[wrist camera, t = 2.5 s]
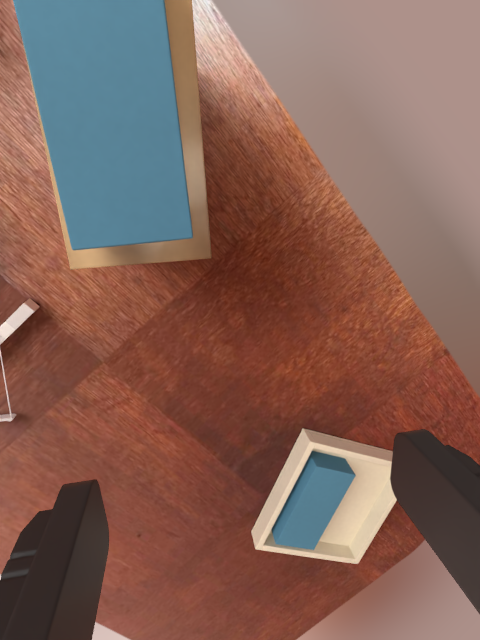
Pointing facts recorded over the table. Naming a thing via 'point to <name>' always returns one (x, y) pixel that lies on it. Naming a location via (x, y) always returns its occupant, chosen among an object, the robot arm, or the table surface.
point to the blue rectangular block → (109, 118)
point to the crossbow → (7, 329)
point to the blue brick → (313, 501)
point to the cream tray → (355, 508)
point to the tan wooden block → (192, 144)
